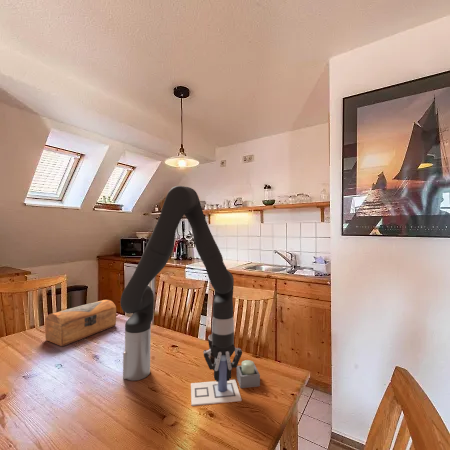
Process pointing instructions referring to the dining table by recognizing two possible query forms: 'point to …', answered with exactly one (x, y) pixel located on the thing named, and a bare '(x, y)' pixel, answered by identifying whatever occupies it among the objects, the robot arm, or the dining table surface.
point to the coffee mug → (210, 347)
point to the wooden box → (79, 322)
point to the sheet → (213, 393)
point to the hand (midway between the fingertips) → (222, 379)
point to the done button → (247, 367)
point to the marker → (222, 374)
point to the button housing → (248, 378)
